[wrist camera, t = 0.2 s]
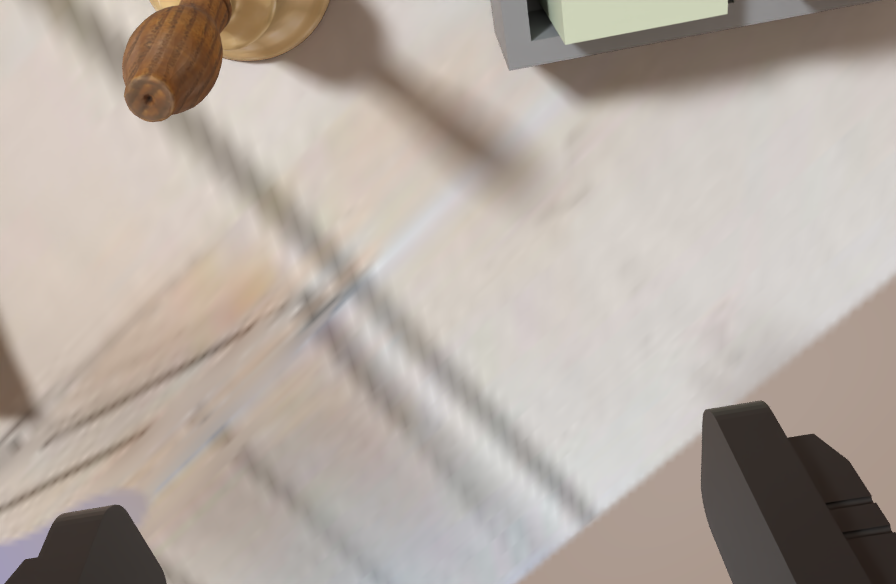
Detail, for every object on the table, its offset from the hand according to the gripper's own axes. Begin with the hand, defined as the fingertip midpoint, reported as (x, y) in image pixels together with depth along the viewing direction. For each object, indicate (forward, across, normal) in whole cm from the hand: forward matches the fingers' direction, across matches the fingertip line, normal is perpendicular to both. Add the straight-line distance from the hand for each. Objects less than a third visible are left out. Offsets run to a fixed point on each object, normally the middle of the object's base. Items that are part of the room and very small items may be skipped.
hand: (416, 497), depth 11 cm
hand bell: (+29, +7, -2) cm, 30 cm away
